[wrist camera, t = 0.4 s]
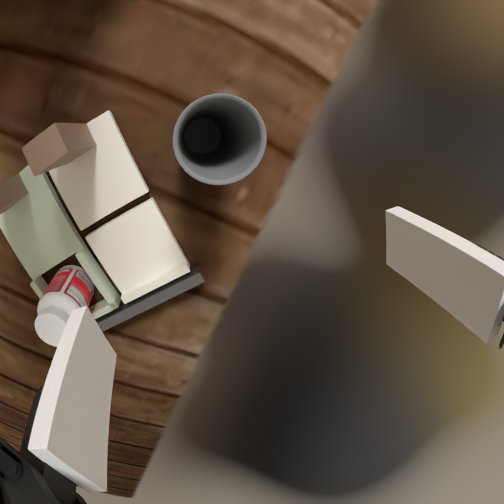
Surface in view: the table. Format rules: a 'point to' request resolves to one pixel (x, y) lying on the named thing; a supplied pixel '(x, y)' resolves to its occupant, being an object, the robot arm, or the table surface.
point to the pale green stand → (46, 234)
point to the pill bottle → (62, 302)
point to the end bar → (152, 298)
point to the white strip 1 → (87, 167)
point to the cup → (219, 139)
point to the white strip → (138, 251)
